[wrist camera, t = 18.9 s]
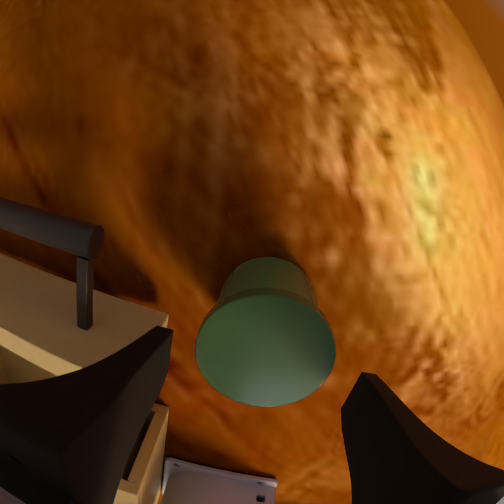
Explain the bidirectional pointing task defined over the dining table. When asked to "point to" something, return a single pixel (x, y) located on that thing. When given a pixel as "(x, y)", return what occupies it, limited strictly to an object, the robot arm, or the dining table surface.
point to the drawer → (61, 306)
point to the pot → (266, 336)
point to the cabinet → (147, 463)
